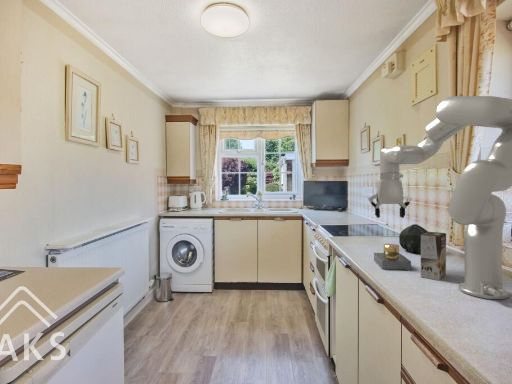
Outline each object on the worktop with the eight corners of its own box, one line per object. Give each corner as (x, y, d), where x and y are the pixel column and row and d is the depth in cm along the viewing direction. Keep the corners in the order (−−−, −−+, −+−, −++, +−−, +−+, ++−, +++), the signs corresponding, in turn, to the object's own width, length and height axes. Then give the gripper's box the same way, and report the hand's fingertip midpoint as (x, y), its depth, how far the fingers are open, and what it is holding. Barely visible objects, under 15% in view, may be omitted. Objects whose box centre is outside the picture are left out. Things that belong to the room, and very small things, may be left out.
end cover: (401, 267, 124) (401, 246, 124) (385, 266, 125) (385, 246, 125) (396, 263, 130) (396, 243, 130) (382, 262, 131) (382, 243, 131)
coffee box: (439, 280, 107) (439, 236, 106) (420, 277, 111) (420, 234, 111) (446, 274, 113) (446, 232, 113) (427, 271, 118) (427, 231, 117)
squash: (418, 236, 160) (404, 217, 157) (443, 243, 146) (429, 221, 142) (402, 256, 158) (387, 236, 154) (426, 264, 144) (411, 243, 140)
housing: (411, 270, 120) (411, 261, 120) (382, 269, 122) (382, 260, 121) (399, 260, 134) (399, 253, 134) (373, 260, 135) (373, 252, 135)
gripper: (408, 177, 129) (408, 216, 130) (366, 177, 132) (366, 216, 132) (414, 176, 122) (414, 218, 122) (370, 177, 124) (370, 218, 125)
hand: (389, 217), depth 127 cm, fingers open, 9 cm apart
